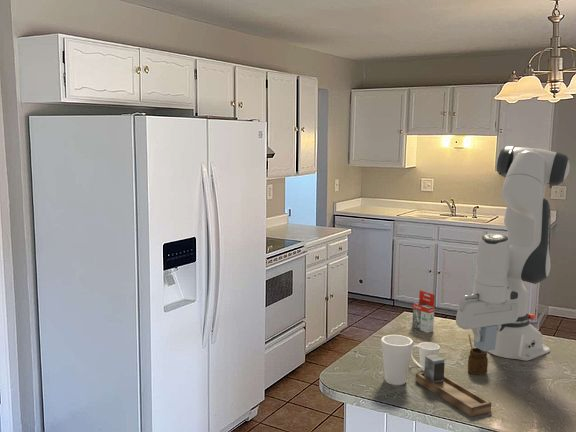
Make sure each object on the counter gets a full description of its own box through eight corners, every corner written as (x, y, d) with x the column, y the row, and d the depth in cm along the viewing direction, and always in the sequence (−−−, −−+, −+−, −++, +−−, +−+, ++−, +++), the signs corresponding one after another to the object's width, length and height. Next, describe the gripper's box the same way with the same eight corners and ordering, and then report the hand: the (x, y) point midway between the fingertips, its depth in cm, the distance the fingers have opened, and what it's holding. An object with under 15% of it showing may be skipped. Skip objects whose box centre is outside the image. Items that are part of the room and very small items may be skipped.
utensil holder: (486, 376, 179) (489, 340, 177) (466, 373, 181) (468, 337, 180) (487, 369, 185) (489, 334, 183) (467, 366, 187) (469, 331, 185)
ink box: (427, 333, 217) (429, 296, 215) (411, 327, 224) (413, 291, 222) (433, 331, 220) (435, 294, 217) (417, 325, 226) (419, 289, 224)
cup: (432, 376, 179) (433, 351, 178) (404, 367, 186) (405, 343, 185) (443, 369, 184) (444, 345, 183) (415, 360, 191) (416, 337, 190)
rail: (415, 381, 175) (417, 354, 174) (434, 377, 178) (435, 351, 177) (471, 416, 154) (473, 386, 153) (490, 411, 157) (492, 382, 156)
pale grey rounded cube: (494, 349, 160) (497, 325, 159) (484, 351, 158) (486, 327, 157) (482, 343, 164) (485, 320, 163) (472, 345, 162) (474, 321, 161)
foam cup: (405, 389, 169) (407, 348, 168) (375, 383, 174) (377, 342, 172) (414, 377, 178) (416, 338, 176) (385, 371, 182) (387, 332, 180)
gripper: (469, 299, 151) (464, 348, 153) (524, 292, 160) (520, 339, 162) (452, 292, 157) (448, 340, 159) (507, 286, 166) (503, 332, 168)
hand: (485, 340), depth 160 cm, fingers closed on pale grey rounded cube, 4 cm apart
